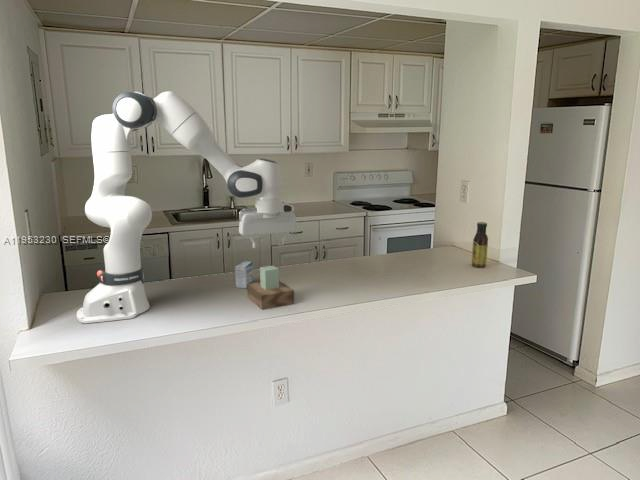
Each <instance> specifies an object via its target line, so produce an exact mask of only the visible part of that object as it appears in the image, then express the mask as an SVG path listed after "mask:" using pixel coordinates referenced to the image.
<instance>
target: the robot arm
mask: <svg viewBox="0 0 640 480" xmlns="http://www.w3.org/2000/svg"><path fill="white" fill-rule="evenodd" d="M111 109H112V113H110V114H102V115H100V116H97V117H95V118H94V120H93V121H92V125H91V151H92V152H91V153H92V160H93V161H92V162H93V170H94V181H93V187H92V192H91V196H90V197H89V198H88V200H86V202H85V206H84V213H85V216H86V218H87V219H88V220H89V221H91V222H93V223H94V224H96V225H97V226H100V227H104V228H108V229H109V228H110V234H109V235H110V236H109V240H108V242H107V243H106V244H105V245H104V247H103V250H102V251H103V259H104V261H103V262H104V268H105V270H98V271H97V272H96V275H97V278H99V283H98V284H97V285H96V286H94V287H93V288H92V289H91V290H89V291H88V292H87V293H86V295H85V296H84V299H83V304H82V307H80V308H79V309H78V310H77V312H76V319H77V321H78V322H79V323H82V324H92V323H103V322H111V321H119V320H130V319H134V318H135V317H138V315H139V314H142V313H144V312H147V311H148V310H149V309H150V306H151V305H150V303H149V300H148V298H147V295H146V291H145V285H144V284H145V276H144V270H143V267H142V261H141V240H142V236H143V233H144V231H145V229H146V228H148V226H149V225H150V223H151V222H152V217H153V211H152V208H151V205H150V204H149V203H148V202H146V201H145V200H143V199H141V198H139V197H136V196H130V195H126V187H127V183H128V182H129V180H130V179H132V176H133V165H132V154H131V144H130V136H131V134H132V132H135V131H139V130H141V129H145V128H148V127H149V126H151V125H152V124H153V123H156V124H157V125H158V124H159V125H160V126H162V128H164V129H165V130H166V131H167V132H168V133H169V134H170V136H172V137H173V139H175V141H177V142H178V143H179V144H181V146H183V147H185V148H186V149H188V150H189V151H191V152H194V153H196V154H198V155H200V156H201V157H203V158H204V159H206V161H208V162H209V164H211V165H212V167H213V168H215V170H217V171H218V172H219V173H220V175H221V176H222V178H223V179H224V181H225V184H226V185H225V186H226V187H227V189H228V190H229V193H230V194H231V195H232V196H234V197H236V198H238V199H246V198H250V197H254V207H244V208H242V209H241V210H239V212H238V220H239V224H238V233H239V234H240V235H241V236H243V237H249V240H250V241H251V243H252V249H257V248H258V249H259V242H257V241H256V240H255V239H256V236H261V235H262V236H263V235H275V234H280V235H281V237H280V239H279V240H278V239H277V245H278V246H279V247H280V246H284V245H285V241H286V238H287V235H288V234H289V233H295V232H296V230H297V217H296V214H295V206H294V205H292V204H289V203H286V202H283V201H282V196H281V188H282V174H281V173H282V172H281V168H280V165H279V163H278V162H276V161H274V160H270V159H266V158H257V159H256V160H255V161H253V162H251V163H250V164H248V165H245V166H242V165H239V164H238V163H237V162H235V161H234V160H233V159H232V158H231V157H230V156H229V155H228V154H227V152H225V150H224V149H223V148H222V147H221V146H220V145H219V143H218V141H217V140H216V138H215V136H214V135H213V132H212V130H211V129H210V127H209V125H208V123H207V122H206V121H205V119H204V118H203V117H202V116H201V114H200V113H199V112H198V111H197V110H196V109H195V108H194V107H193V106H192V105H191V104H190V103H188V102H187V101H186V100H185V99H184V98H183V97H181V96H180V95H179V94H177V93H176V92H174V91H170V90H165V91H163V92H161V93H159V94H158V95H157V96H156V97H154V98H152V97H150V96H148V95H146V94H144V93H141V92H139V91H125V92H122V93H120V94H119V95H117V96H116V97H115V99H114V100H113V103H112V107H111Z"/></svg>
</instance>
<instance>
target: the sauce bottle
mask: <svg viewBox="0 0 640 480" xmlns="http://www.w3.org/2000/svg"><path fill="white" fill-rule="evenodd" d="M476 226H477V228H476V233H475V235H474V238H473V239H472V240H473V241H472V251H471V266H473V267H474V268H485V267H486V266H487V265H486V264H487V259H488V258H487V257H488V256H487V255H488V246H489V245H488V244H489V237H488V235H487V227H488V223H487V222H484V221H482V222H481V221H479V222H477V223H476Z"/></svg>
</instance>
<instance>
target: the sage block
mask: <svg viewBox="0 0 640 480" xmlns="http://www.w3.org/2000/svg"><path fill="white" fill-rule="evenodd" d="M279 272H280V270H279V268H278V267H276V266H275V265H267V266H261V267H259V279H260V280H259V282H260V286H261V287H262V288H264V289H265V290H270V289H276V288H279V281H280V280H279V278H280V275H279Z"/></svg>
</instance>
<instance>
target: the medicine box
mask: <svg viewBox="0 0 640 480" xmlns="http://www.w3.org/2000/svg"><path fill="white" fill-rule="evenodd" d="M253 266H254V265H253V261H247V260H245V261H241V262H240V263H239V264H237V265H236V266H235V267H234V272H235V287H236V288H237V289H247V284H252V283H254V268H253Z"/></svg>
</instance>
